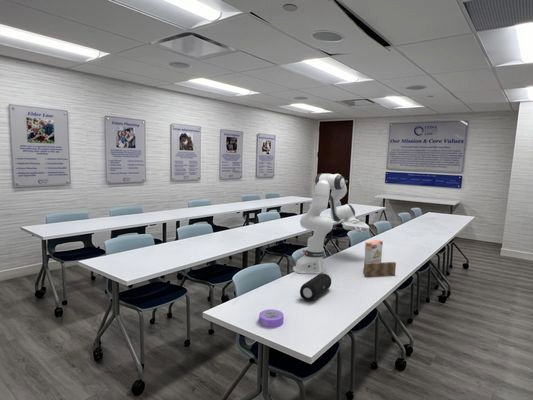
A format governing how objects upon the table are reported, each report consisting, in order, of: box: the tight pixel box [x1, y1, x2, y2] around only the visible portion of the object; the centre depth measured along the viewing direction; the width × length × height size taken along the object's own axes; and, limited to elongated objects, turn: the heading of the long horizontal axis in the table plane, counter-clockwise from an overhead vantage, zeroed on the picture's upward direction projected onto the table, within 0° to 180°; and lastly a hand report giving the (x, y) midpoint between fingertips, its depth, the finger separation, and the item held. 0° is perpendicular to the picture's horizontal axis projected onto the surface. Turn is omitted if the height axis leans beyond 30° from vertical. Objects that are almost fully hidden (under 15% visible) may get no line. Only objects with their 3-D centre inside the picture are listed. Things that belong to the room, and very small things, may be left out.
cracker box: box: [363, 239, 384, 269], centre depth 243 cm, size 14×6×21 cm, turn 131°
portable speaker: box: [299, 272, 332, 302], centre depth 196 cm, size 26×10×10 cm, turn 147°
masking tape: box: [258, 308, 285, 329], centre depth 162 cm, size 12×12×4 cm
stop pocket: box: [363, 261, 397, 278], centre depth 233 cm, size 22×7×9 cm, turn 101°
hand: (359, 231), depth 255 cm, fingers closed
